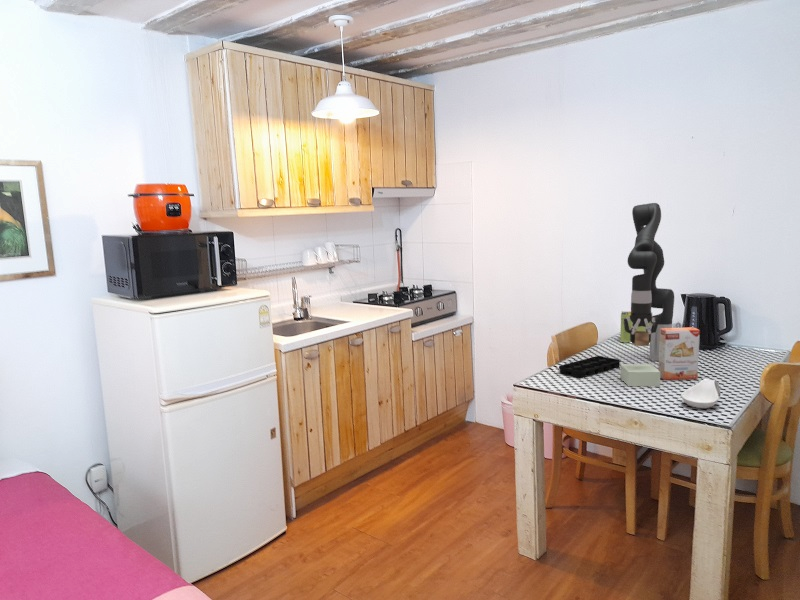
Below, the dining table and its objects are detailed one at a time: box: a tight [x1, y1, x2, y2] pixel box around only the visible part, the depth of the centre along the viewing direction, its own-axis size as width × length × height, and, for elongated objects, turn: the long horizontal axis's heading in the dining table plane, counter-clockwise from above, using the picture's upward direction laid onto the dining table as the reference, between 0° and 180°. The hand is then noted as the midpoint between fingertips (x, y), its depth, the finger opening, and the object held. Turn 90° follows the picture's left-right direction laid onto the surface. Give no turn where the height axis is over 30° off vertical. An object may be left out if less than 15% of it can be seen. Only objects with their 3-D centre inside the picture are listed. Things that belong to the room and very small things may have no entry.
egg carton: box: [558, 355, 621, 379], centre depth 253 cm, size 18×30×4 cm, turn 136°
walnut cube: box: [631, 331, 650, 347], centre depth 230 cm, size 5×5×5 cm
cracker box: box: [657, 326, 701, 381], centre depth 235 cm, size 14×6×21 cm, turn 89°
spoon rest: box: [680, 378, 721, 409], centre depth 206 cm, size 24×12×7 cm, turn 138°
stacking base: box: [620, 363, 661, 388], centre depth 232 cm, size 12×12×6 cm
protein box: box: [619, 310, 653, 343], centre depth 303 cm, size 10×15×16 cm
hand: (640, 342), depth 230 cm, fingers closed on walnut cube, 5 cm apart
